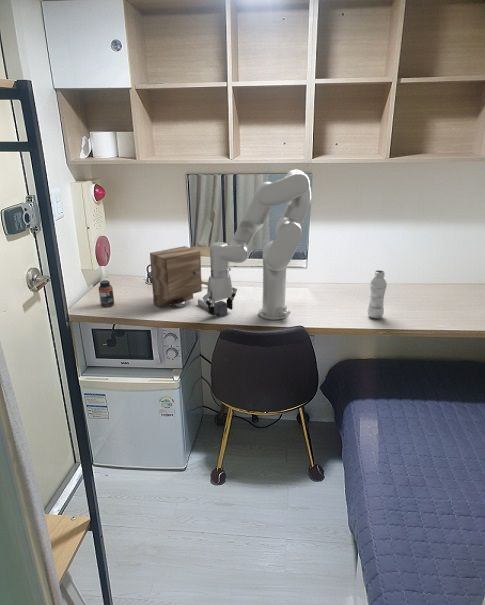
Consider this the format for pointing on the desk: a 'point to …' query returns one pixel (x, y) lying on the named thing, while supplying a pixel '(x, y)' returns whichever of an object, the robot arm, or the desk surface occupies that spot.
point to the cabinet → (175, 275)
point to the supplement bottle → (106, 294)
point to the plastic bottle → (377, 295)
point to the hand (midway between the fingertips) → (220, 311)
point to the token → (179, 303)
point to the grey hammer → (216, 307)
